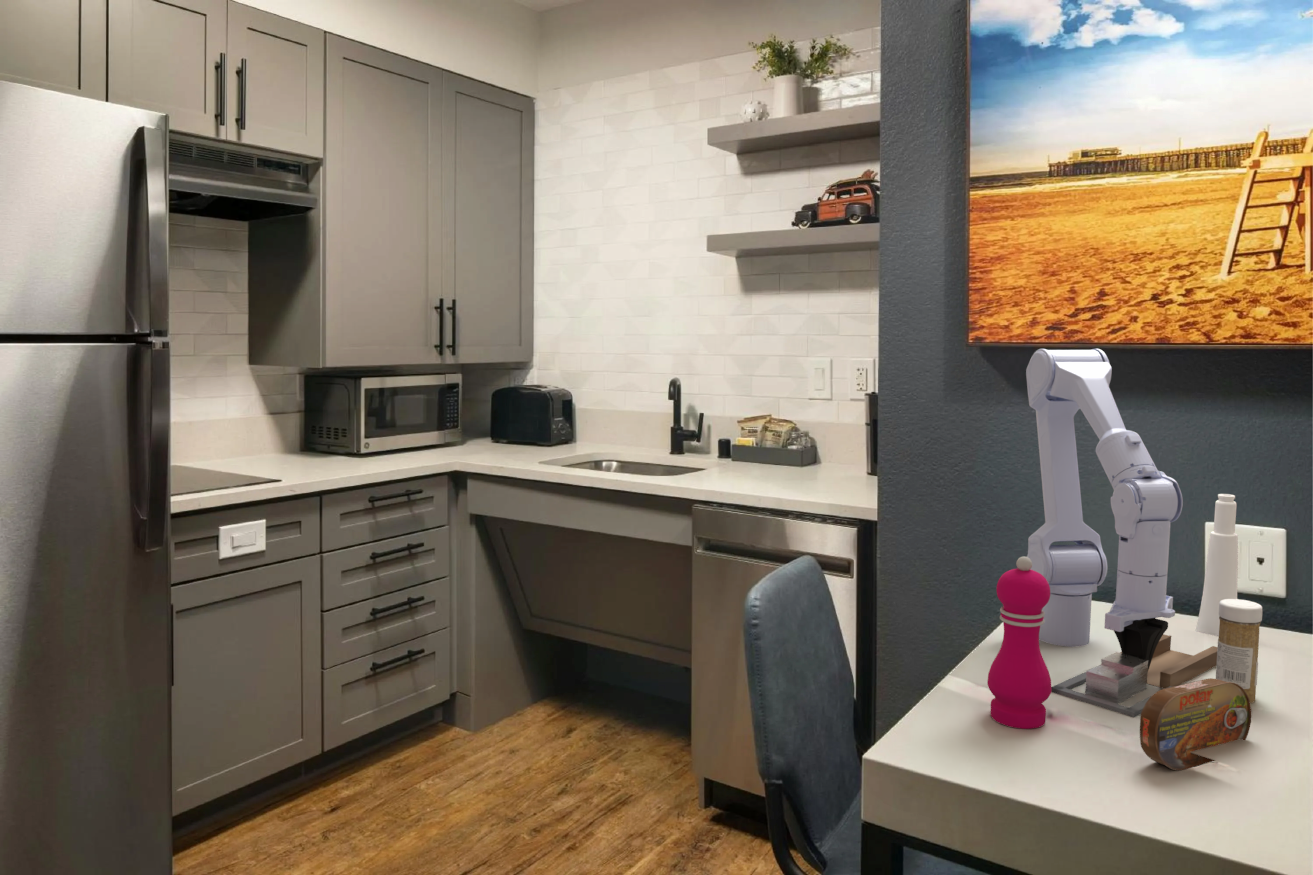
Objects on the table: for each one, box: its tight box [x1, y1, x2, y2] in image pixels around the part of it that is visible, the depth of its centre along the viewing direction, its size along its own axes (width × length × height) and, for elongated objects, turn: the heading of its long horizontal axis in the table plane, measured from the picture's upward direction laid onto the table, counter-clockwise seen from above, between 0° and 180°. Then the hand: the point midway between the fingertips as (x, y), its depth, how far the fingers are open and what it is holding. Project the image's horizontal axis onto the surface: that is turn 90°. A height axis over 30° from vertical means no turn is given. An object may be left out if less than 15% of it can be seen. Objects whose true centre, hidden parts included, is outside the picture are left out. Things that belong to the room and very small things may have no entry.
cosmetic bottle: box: [1194, 493, 1239, 638], centre depth 145 cm, size 6×6×22 cm
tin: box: [1139, 677, 1252, 771], centre depth 104 cm, size 15×3×8 cm, turn 114°
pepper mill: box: [987, 556, 1052, 730], centre depth 114 cm, size 7×7×20 cm
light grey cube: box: [1084, 663, 1134, 704], centre depth 118 cm, size 4×4×4 cm
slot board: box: [1119, 633, 1218, 689], centre depth 128 cm, size 8×16×4 cm, turn 129°
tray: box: [1051, 671, 1172, 718], centre depth 120 cm, size 10×12×2 cm
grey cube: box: [1100, 651, 1148, 697], centre depth 121 cm, size 4×4×4 cm
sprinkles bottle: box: [1215, 598, 1263, 704], centre depth 118 cm, size 5×5×13 cm
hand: (1136, 674), depth 123 cm, fingers closed
